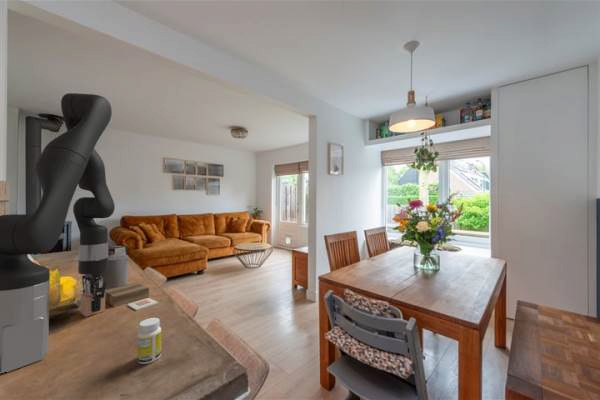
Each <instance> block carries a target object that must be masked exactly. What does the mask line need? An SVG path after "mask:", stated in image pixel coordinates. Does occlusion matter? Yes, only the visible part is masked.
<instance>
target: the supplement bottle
mask: <svg viewBox="0 0 600 400" xmlns="http://www.w3.org/2000/svg"><path fill="white" fill-rule="evenodd" d="M160 322H161V321H160V319H159V318H158V317H151V318H150V317H149V318H146V319H144V320H142V321H140V323H139V328H138V329H139V331H138V333H137V335H136V336H137V337H136V339H137V340H136V341H137V342H136V346H137V347H136V348H137V350H136V351H137V352H136V353H137V354H136V357H137V358H136V361H137V363H139V364H141V365H148V364H152V363H154V362H155V361H157V360H158V359H159V358H160V357H162V327H161V326H160V324H161V323H160Z"/></svg>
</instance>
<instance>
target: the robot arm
mask: <svg viewBox="0 0 600 400" xmlns="http://www.w3.org/2000/svg"><path fill="white" fill-rule="evenodd" d="M60 107H61V113H62V116H63V120H64V123H65V127H66V131H65V132H63V133H61V134H59V135H58V136H57V137H55V138H54V139H52V140H51V141H49V142H48V143H47V145H46V146H45V147H44V148H43V150H42V151H41V154H40V156H39V157H38V159H37V161H36V162H35V163H36V164H35V165H34V166H35V167H34V169H35V174H36V177H37V180H38V183H39V184H40V186H41V190H42V195H41V199H40V201H39V203H38V206H37V208H36V209H35V211H34V212H32V213H31V214H30V213H29V214H27V213H24V214H22V213H21V214H18V213H16V214H0V372H1V373H4V372H7V373H9V372H12V371H14V370H17V369H19V368H24V367H25V366H27V365H31V364H34V363H36V362H39V361H41V360H44V357H45V356H46V355H47V354H48V352H49V336H50V332H49V330H50V329H49V328H50V287H51V286H50V285H51V284H50V282H51V280H50V279H51V271H50V269H49V268H48V267H47V266H44V265H41V264H39V263H38V264H37V263H36V262H34V261H33V260H31V259H30V258H29V256H28V255H40V254H45V253H48V252H49V251H51V250H52V249H53V248H54V247H55V246H56V245H57V244H58V241H60V240H59V239H60V238H61V235H62V233H63V229H64V227H65V222H66V219H67V215H68V212H69V209H70V205H71V203H72V200H73V197H74V196H75V192H76V190H77V187H79V189H80V190H84V191H87V192H88V191H89V192H90V193H92V196H93V197H92V196H88V197H87V196H84V197H80V198H78V199H76V201H75V202H74V204H73V209H72V211H73V212H72V213H73V215H74V218H75V221H76V224H77V228H78V230H79V249H78V261H77V262H78V267H77V268H78V269H77V270H78V271H77V272H78V274H80V275H82V276H81V280H82V281H81V283H82V286H83V293H89V294H91V300H92V302H91V311H92V312H96V311H99V310H100V309H101V299H102V298H104V293H105V284H106V281H105V280H103V277H102V276H101V273H102V272H103V271H106V270H107V269H108V246H109V244H108V243H109V242H108V241H109V240H108V238H109V236H108V235H109V234H108V233H109V232H108V227H107V226H105V225H102V224H98V223H96V222H95V219H108V218H109V217H112V215H113V214H114V212H115V206H116V205H115V202H114V199H113V197H112V195H111V191H110V190H109V187H108V184H107V178H106V167H105V163H104V161H103V159H102V157H101V155H100V154H99V153H98V152H97V150H96V148H95V147H96V145H97V143H98V141H99V139H100V138H101V136H102V135H103V133H104V132H105V130H106V129H107V127H108V125H109V124H110V121H111V119H112V114H113V113H112V112H113V111H112V105H111V103H110V101H109V100H108V99H107V98H106V97H104V96H102V95H98V94H92V93H77V92H76V93H73V92H70V93H65V94H64V95H62V98H61V100H60ZM87 286H88V287H87ZM97 293H99V295H97ZM4 374H5V373H4Z"/></svg>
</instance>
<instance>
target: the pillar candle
mask: <svg viewBox="0 0 600 400" xmlns="http://www.w3.org/2000/svg"><path fill="white" fill-rule="evenodd" d="M101 276H102V277H103V280H105V281H106V284H105V290H107V289H111V288H116V287H120V286H124V285H129V283H128V280H129V279H128V276H129V255H128V256H127V255H114V254H113V255H110V256H108V269H107V270H106V271H103V272H102V273H101Z"/></svg>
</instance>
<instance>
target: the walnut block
mask: <svg viewBox="0 0 600 400" xmlns="http://www.w3.org/2000/svg"><path fill="white" fill-rule="evenodd" d="M147 298H150V288H149V287H148V286H146V285H143V284H141V283H138V282H135V283H134V282H133V283H128V285H124V286H120V287H116V288H111V289H107V290H105V301H106V302H105V303H107V304H108V303H109V304H108V305H110V306H111V305H112V306H111V307H113V308H117V307H121V306H124V304H125V305H127V304H130V303H133V302H136V301H140V300H143V299H147Z"/></svg>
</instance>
